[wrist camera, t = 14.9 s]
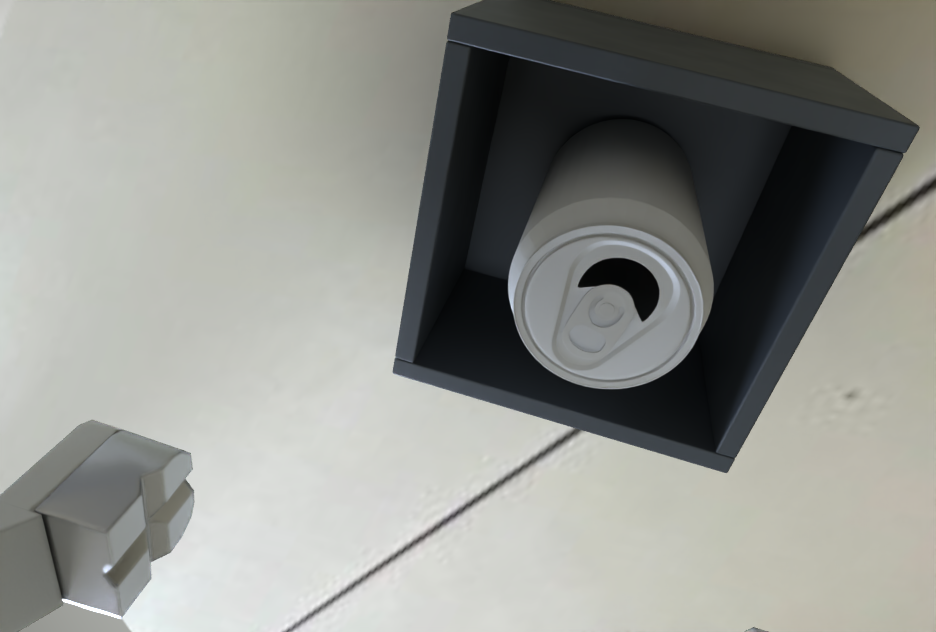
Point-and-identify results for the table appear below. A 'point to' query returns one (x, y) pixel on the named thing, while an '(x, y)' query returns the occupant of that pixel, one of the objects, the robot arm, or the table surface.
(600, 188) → the beverage can
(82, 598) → the robot arm
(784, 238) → the waste bin
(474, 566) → the table surface
